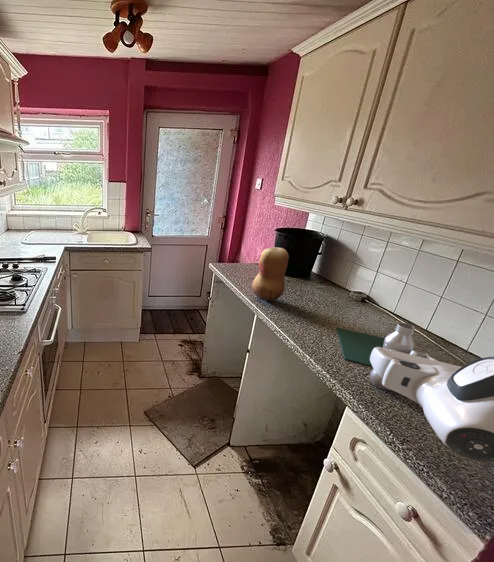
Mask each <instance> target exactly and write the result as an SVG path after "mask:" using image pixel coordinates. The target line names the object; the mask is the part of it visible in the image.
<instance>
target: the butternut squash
mask: <svg viewBox="0 0 494 562" xmlns="http://www.w3.org/2000/svg"><path fill="white" fill-rule="evenodd" d="M289 258H290V255H289V253H288V251H287V250H286V249H285V248H284V247H277V246H276V247H275V246H274V247H267V248H266V249H263V251H262V252H261V253H260V257H259V262H258V274H257V275H256V276H255V277H254V279H253V281H252V284H251V289H252V292H253V294H254V295H256V297H258V298H259V299H260V300H262V301H270V302H273V301H276V300H278V299H279V298H281V297H282V296H283V294H284V292H285V285H286V281H285V276H286V271H287V269H288V265H289Z"/></svg>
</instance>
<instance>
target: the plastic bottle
mask: <svg viewBox="0 0 494 562" xmlns="http://www.w3.org/2000/svg"><path fill="white" fill-rule="evenodd" d="M415 330H416V327H415V326H414V325H412V324H409V323H406V322H397V325H396V326H395V329H394V331H393V332H391V333H389V334H386V336H385V337H384V338H385V340H384V344H383V348H385V349H389V350H393V351H397V352H402V353H406V354H410V353H411V351H412V350H413V351H414V349H415V347H416V343H415V340H414V338H413V335H414V334H415ZM382 380H383V378H381V377H380V376H379V375H378V374H377V373H376V372H375V370H374V369H373V368H372V369H371V371H370V373H369V381H370V383H371V384H372V385H373V386H375V387H376V388H379V389H381V390H385V391H391V390H390V389H388V388H386V387H384V386H383V384H382Z"/></svg>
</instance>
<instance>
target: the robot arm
mask: <svg viewBox="0 0 494 562" xmlns="http://www.w3.org/2000/svg"><path fill="white" fill-rule="evenodd" d="M370 362H371V365H372V367H371V368H372V370H373V369H374V370H375V372H376V373H377V374H378V375H379V376H380V377H381V378H383V380H382V384H383V386H384V387H386V388H388V389H390V390H389V391H393V392H395V393H398V394H400V395H402V396H404V397H406V398H408V399H409V400H411V401H413V402H415V403H417V404H418V405H419V406H420V407H421V408H422V410H423V414H424V417H425V419H426V420H427V422H428V423H429V425H430V427H431V428H432V430H433V432H434V433H435V434H436V436H437V437H438V438H439V439H440V441H441V442H442V443H443V444H444V445H445V447H447V448H449V449H450V450H451V451H453V452H455V454H458V455H460V456H461V457H465V458H468V459H470V460H473V461H478V462H485V463H494V356H487V357H482V358H477V359H474V360H472V361H470V362H467V363H465V364H464V365H463V366H459V365H455V364H451V363H447V362H443V361H439V360H437V359H435V358H433V357H431V356H430V355H429V353H426V352H421V351H417V350H414V349H413V350H412V351H411V353H410V354H406V353H402V352H397V351H393V350H389V349H385V348H381V347H375V348H374V349H373V350H372V353H371V355H370Z"/></svg>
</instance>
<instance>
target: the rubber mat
mask: <svg viewBox="0 0 494 562" xmlns="http://www.w3.org/2000/svg"><path fill="white" fill-rule="evenodd" d="M336 331H337V336H338V339H339V343H340V347H341V351H342V357H343V360H345V361H348V362H351V363H355V364H359V365H364V366H368V367H371V368H373V367H372V365H371V362H370V355H371V353H372V350H373V349H374V348H375V347H381V348H383V344H384V340H385V337H382V336H378V335H374V334H369V333H365V332H361V331H360V332H359V331H356V330H352V329H346V328H342V327H338V326H337V327H336Z"/></svg>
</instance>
